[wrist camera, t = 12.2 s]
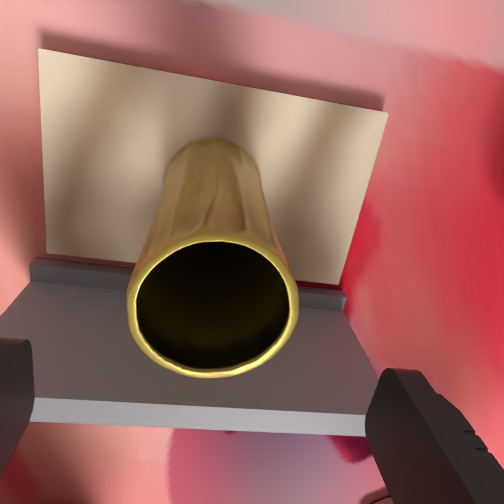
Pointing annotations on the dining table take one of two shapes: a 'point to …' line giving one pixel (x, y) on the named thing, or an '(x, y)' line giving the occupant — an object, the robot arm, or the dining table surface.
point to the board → (181, 133)
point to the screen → (174, 384)
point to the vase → (211, 269)
